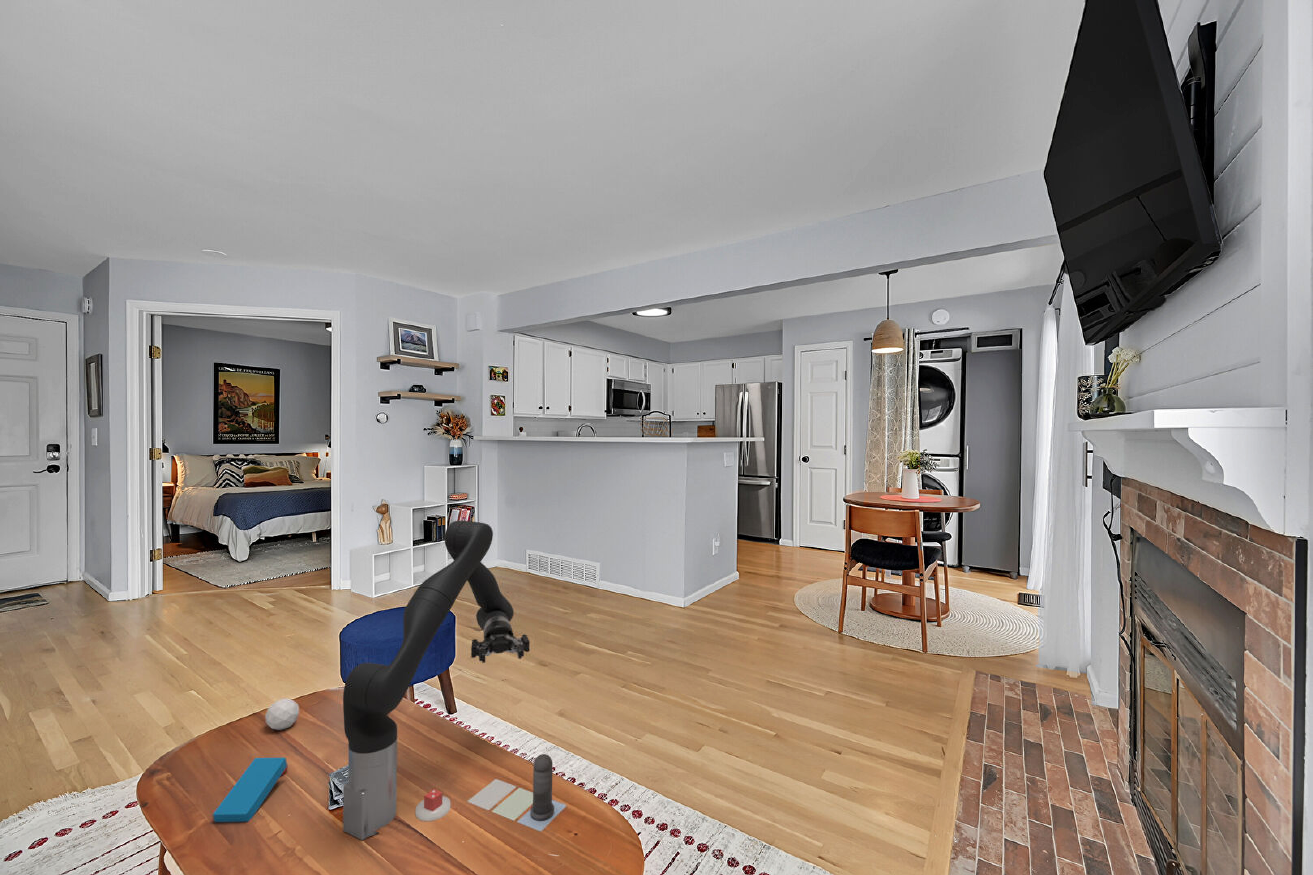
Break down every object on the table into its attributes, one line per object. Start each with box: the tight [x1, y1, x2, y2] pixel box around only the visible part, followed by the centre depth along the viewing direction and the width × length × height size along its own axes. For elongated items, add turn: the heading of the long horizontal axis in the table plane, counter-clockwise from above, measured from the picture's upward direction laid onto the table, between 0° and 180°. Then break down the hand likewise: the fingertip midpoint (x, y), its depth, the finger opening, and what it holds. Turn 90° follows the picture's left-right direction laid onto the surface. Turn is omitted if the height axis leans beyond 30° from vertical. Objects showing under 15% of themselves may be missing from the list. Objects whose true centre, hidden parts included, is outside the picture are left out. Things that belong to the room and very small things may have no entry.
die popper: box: [415, 789, 451, 822], centre depth 123 cm, size 7×7×5 cm
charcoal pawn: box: [529, 753, 554, 821], centre depth 122 cm, size 5×5×12 cm
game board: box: [466, 778, 567, 832], centre depth 126 cm, size 11×21×1 cm, turn 64°
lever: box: [212, 757, 288, 823], centre depth 129 cm, size 7×7×18 cm
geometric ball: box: [264, 698, 300, 731], centre depth 157 cm, size 8×8×8 cm
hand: (502, 656), depth 139 cm, fingers open, 8 cm apart
